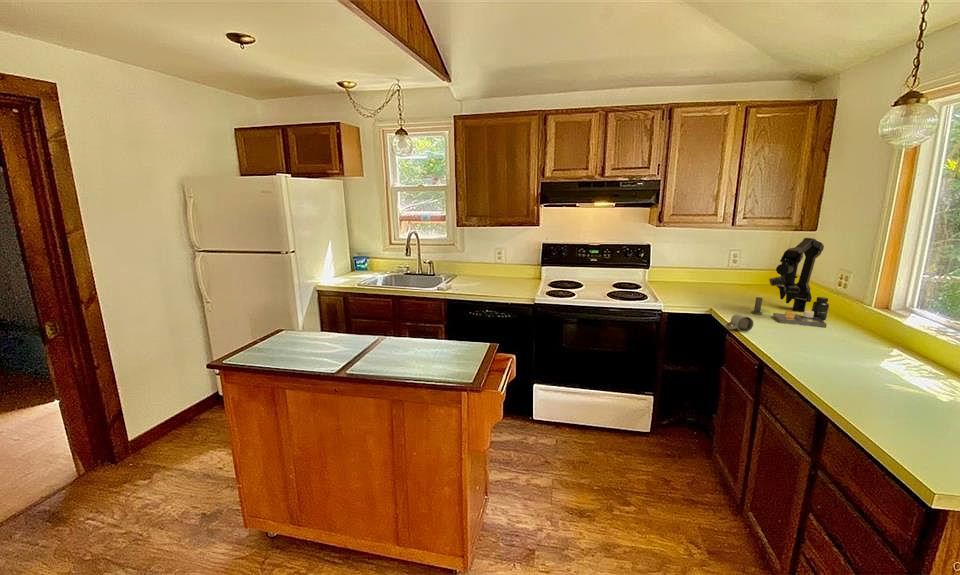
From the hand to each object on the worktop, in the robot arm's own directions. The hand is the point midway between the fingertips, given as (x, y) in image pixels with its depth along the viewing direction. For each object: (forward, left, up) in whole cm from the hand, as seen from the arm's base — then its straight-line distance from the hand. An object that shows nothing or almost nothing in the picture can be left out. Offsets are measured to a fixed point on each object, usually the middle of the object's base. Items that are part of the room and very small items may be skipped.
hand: (784, 301), depth 231 cm
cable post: (0, -12, -9) cm, 15 cm away
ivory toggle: (+6, +10, -7) cm, 13 cm away
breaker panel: (+9, +5, -9) cm, 13 cm away
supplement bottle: (-1, +17, -9) cm, 19 cm away
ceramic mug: (+35, -28, -9) cm, 46 cm away
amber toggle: (+11, 0, -7) cm, 13 cm away
